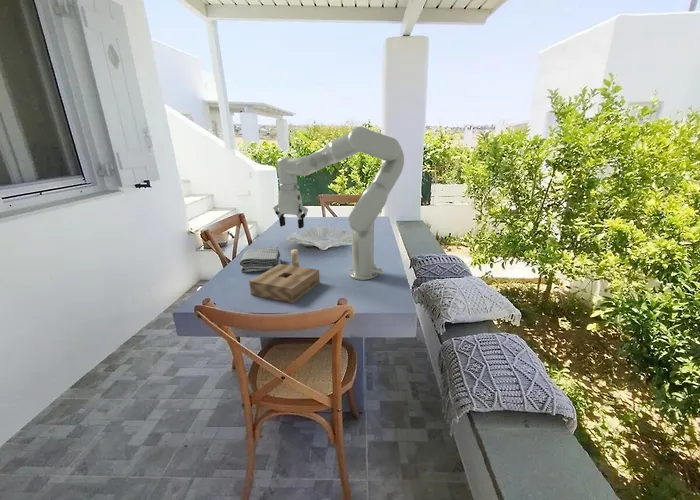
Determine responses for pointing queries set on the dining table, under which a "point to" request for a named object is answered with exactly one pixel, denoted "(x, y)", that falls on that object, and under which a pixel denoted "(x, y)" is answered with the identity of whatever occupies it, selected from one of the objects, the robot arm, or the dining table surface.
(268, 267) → the towel
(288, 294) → the bore block
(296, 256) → the peg
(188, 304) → the dining table surface
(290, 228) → the dining table surface
